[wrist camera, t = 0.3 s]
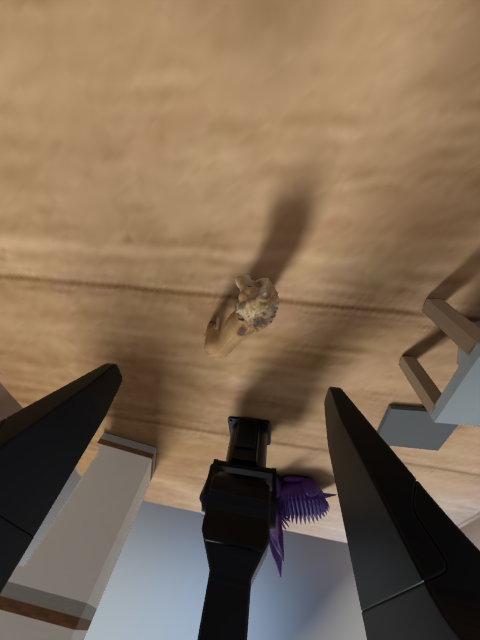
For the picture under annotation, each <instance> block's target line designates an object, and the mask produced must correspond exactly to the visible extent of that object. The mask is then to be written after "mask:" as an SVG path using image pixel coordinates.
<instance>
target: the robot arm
mask: <svg viewBox="0 0 480 640" xmlns="http://www.w3.org/2000/svg"><path fill="white" fill-rule="evenodd" d="M121 382H122V375H121V373H120V370H119V368H118V366H117V365H116V364H111V363H106V364H104V365H102V366H100V367H99V368H97V369H95V370H93V371H91V372H89V373H88V374H86V375H84V376H82V377H80V378H78V379H77V380H75V381H73V382H71V383H69V384H67V385H66V386H64V387H62V388H60V389H58V390H56V391H55V392H53V393H51V394H49V395H47V396H45V397H44V398H42V399H40V400H38V401H36V402H34V403H33V404H31V405H29V406H27V407H25V408H23V409H22V410H20V411H18V412H16V413H14V414H13V415H11V416H9V417H7V418H6V419H3V420H1V421H0V593H1V592H2V590H3V588H4V587H5V585H6V583H7V582H8V580H9V578H10V577H11V575H12V573H13V571H14V570H15V568H16V566H17V565H18V563H19V561H20V560H21V558H22V556H23V554H24V553H25V551H26V550H27V548H28V546H29V544H30V543H31V541H32V539H33V537H34V535H35V534H36V532H37V531H38V529H39V527H40V526H41V524H42V522H43V520H44V519H45V517H46V515H47V514H48V512H49V510H50V509H51V507H52V505H53V504H54V502H55V500H56V499H57V497H58V495H59V494H60V492H61V490H62V489H63V487H64V485H65V483H66V482H67V480H68V478H69V477H70V474H71V473H72V472H73V470H74V468H75V467H76V465H77V463H78V462H79V460H80V458H81V456H82V455H83V453H84V451H85V450H86V448H87V446H88V445H89V443H90V441H91V440H92V438H93V436H94V435H95V433H96V431H97V429H98V428H99V426H100V424H101V423H102V421H103V419H104V418H105V416H106V414H107V412H108V410H109V408H110V406H111V404H112V402H113V399H114V397H115V395H116V393H117V391H118V389H119V387H120V385H121ZM324 406H325V417H326V429H327V440H328V447H329V453H330V458H331V463H332V468H333V473H334V478H335V482H336V487H337V492H338V497H339V502H340V507H341V512H342V517H343V522H344V527H345V532H346V537H347V542H348V546H349V551H350V556H351V561H352V566H353V570H354V575H355V581H356V586H357V591H358V595H359V600H360V606H361V610H362V611H363V612H362V616H363V621H364V625H365V630H366V636H367V640H480V551H479V549H478V548H477V547H476V546H475V545H474V544H473V543H472V542H471V541H470V540H469V539H468V538H467V537H466V536H465V534H464V533H463V532H462V531H461V530H460V529H459V528H458V527H457V526H456V525H455V524H454V522H453V521H452V520H451V519H450V518H449V517H448V516H447V515H446V514H445V512H444V511H443V510H442V509H441V508H440V507H439V505H438V504H437V503H436V502H435V501H434V500H433V498H432V497H431V496H430V495H429V494H428V493H427V491H426V490H425V489H424V488H423V487H422V485H421V484H420V483H419V482H418V481H416V478H415V477H414V476H413V475H412V473H411V472H410V471H409V470H408V469H407V467H406V466H405V465H404V464H403V463H402V461H401V460H400V459H399V458H398V457H397V455H396V454H395V453H394V452H393V451H392V449H391V448H390V447H389V446H388V444H387V443H386V442H385V441H384V440H383V438H382V437H381V436H380V435H379V434H378V432H377V431H376V430H375V429H374V428H373V426H372V425H371V424H370V423H369V422H368V420H367V419H366V418H365V417H364V416H363V414H362V413H361V412H360V411H359V410H358V408H357V407H356V406H355V405H354V404H353V402H352V401H351V400H350V399H349V397H348V396H347V395H346V394H345V393H344V391H343V390H342V389H341V388H338V387H329V388H328V391H327V395H326V398H325V403H324ZM231 419H232V420H231ZM228 424H229V430H230V442H229V447H228V452H227V457H226V461H220V460H218V459H214V462H213V464H211V466H210V470H209V474H208V478H207V480H206V483H205V485H204V487H203V490H202V492H201V494H200V501H201V503H202V517H204V520H203V525H202V533H203V538H204V543H205V548H206V553H207V558H208V564H209V569H210V572H209V578H208V584H207V589H206V595H205V601H204V606H203V612H202V617H201V623H200V629H199V635H198V640H247V632H248V619H249V604H250V590H251V585H252V583H253V581H254V579H255V577H256V575H257V573H258V571H259V569H260V567H261V565H262V563H263V561H264V559H265V557H266V555H267V550H268V545H269V536H270V530H274V531H275V528H276V511H277V488H276V468H272V469H271V468H266V455H267V445H270V421H268V420H260V419H250V418H239V417H228Z"/></svg>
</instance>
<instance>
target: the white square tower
mask: <svg viewBox="0 0 480 640" xmlns="http://www.w3.org/2000/svg"><path fill="white" fill-rule="evenodd" d="M97 445H98V449H99V452H98V453H97V455H96V456H95V458H94V460H93V461H92V463H91V464H90V466H89V467H88V469H87V470H86V472H85V473H84V475H83V476H82V478H81V480H80V481H79V483H78V484H77V486H76V487H75V489H74V490H73V492H72V493H71V495H70V496H69V498H68V499H67V501H66V503H65V504H64V506H63V507H62V509H61V510H60V512H59V513H58V515H57V516H56V518H55V519H54V521H53V523H52V524H51V526H50V527H49V529H48V530H47V532H46V533H45V535H44V536H43V538H42V540H41V541H40V542H39V544H38V546H37V547H36V549H35V550H34V552H33V553H32V555H31V556H30V558H29V559H28V561H27V563H26V564H25V566H24V567H23V566H19V565H17V566H16V568H15V570H14V571H13V573H12V575H11V577H10V578H9V580H8V582H7V583H6V585H5V587H4V588H3V590H2V592H1V593H0V640H84V638H85V635H86V633H87V631H88V628H89V626H90V624H91V621H92V619H93V616H94V614H95V612H96V609H97V607H98V605H99V602H100V600H101V597H102V595H103V593H104V590H105V588H106V585H107V583H108V581H109V578H110V576H111V574H112V571H113V569H114V567H115V564H116V562H117V559H118V557H119V555H120V552H121V550H122V548H123V545H124V543H125V540H126V538H127V536H128V533H129V531H130V529H131V526H132V524H133V521H134V519H135V516H136V514H137V512H138V509H139V507H140V505H141V502H142V500H143V498H144V495H145V493H146V491H147V488H148V486H149V483H150V481H151V479H152V476H153V474H154V472H155V461H156V450H157V448H156V447H152V446H149V445H145V444H142V443H138V442H135V441H132V440H128V439H125V438H121V437H118V436H114V435H111V434H108V433H104V434H103V435H102V437H101V438H100V440H99V441H98V442H97Z"/></svg>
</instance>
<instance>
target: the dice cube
mask: <svg viewBox="0 0 480 640" xmlns="http://www.w3.org/2000/svg"><path fill="white" fill-rule="evenodd" d="M472 323H473V324H475V325H476V326H477V327H479V328H480V321H478V322H472ZM466 355H467V354H466V353H465V352H464V351H463V350H462V349H461V348H460V347H459V346H458V354H457V364H458V365H459V366H460V364H461V363H462V361H463V359H464V358H465V356H466Z"/></svg>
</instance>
